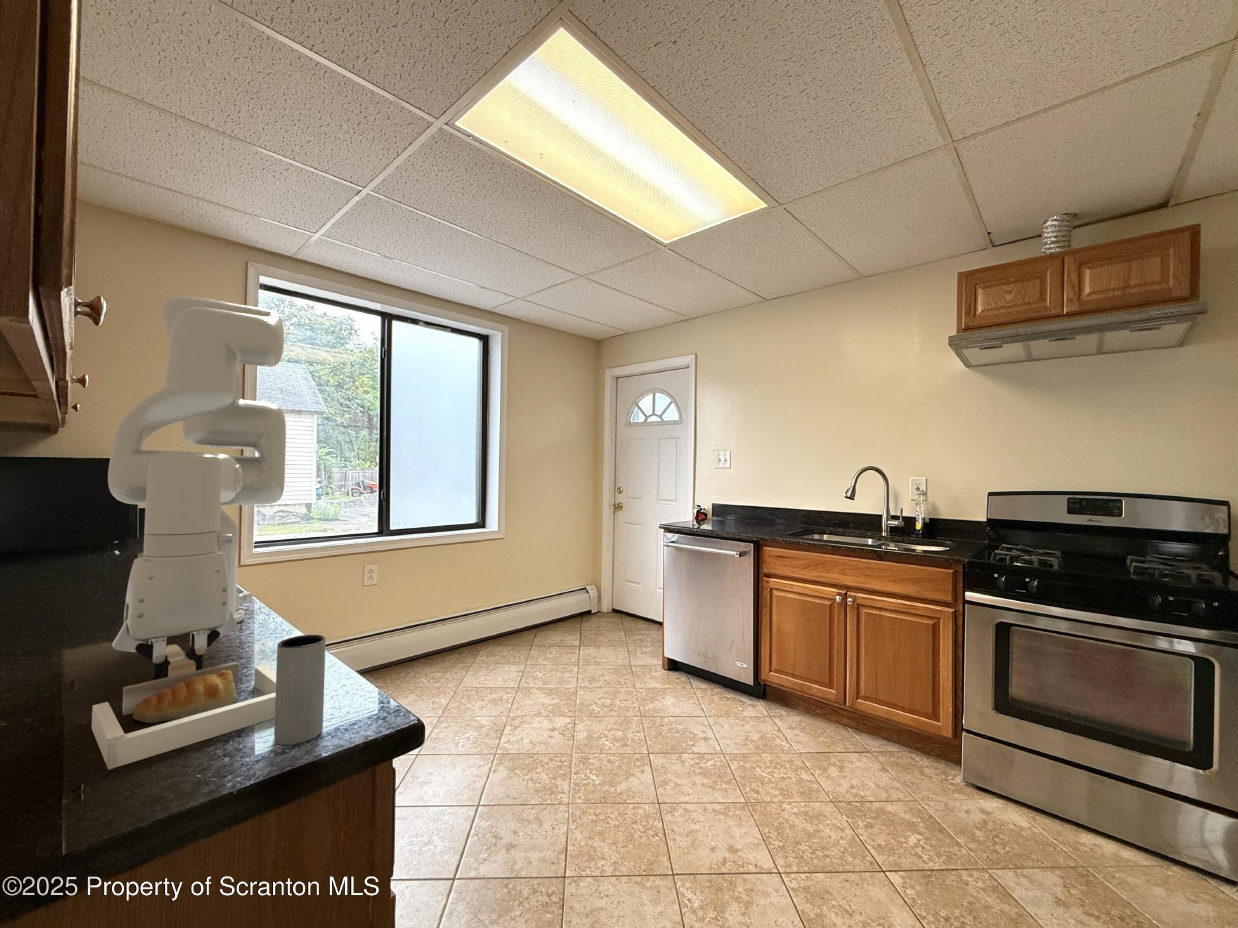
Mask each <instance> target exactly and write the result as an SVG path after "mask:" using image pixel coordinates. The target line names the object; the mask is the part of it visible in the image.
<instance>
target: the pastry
mask: <svg viewBox="0 0 1238 928" xmlns="http://www.w3.org/2000/svg"><path fill="white" fill-rule="evenodd" d="M237 697H238V696H237V689H236V686H235V685H234V681H233V676H232V672H231V671H230V670H228V671H225V670H223V671H221V672H220V673H218V674H211V675H202V676H198V677H193V678H190V679H188V680H186V681H185V682H181V683H177V684H176V685H174V686H172V687H170V688H167V689H163V690H161V691H160V692H158V693H157V694H153V695H151V696H149V697H147V698H145V699H143V700H142V701H140V702H139V703H138V704H137V706H136V708H135V709H134V712H133V713H132V718H133V719H134V720H137V721H139V722H142V723H148V724H149V723H150V724H153V723H159V722H164V721H165V722H166V721H168V722H169V721H175V720H178V719H182V718H185V717H189V716H193V715H196V714H200V713H204V712H207V711H211V710H214V709H218V708H222V707H225V706H229V705H232V704H235V702H236V700H237Z"/></svg>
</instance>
